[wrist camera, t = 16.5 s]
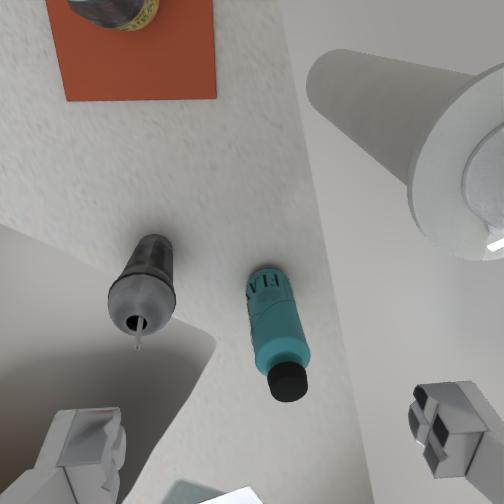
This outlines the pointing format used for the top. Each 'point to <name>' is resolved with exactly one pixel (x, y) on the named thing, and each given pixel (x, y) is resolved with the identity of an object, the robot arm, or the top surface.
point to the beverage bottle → (277, 335)
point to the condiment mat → (137, 54)
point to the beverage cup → (144, 290)
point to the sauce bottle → (116, 12)
